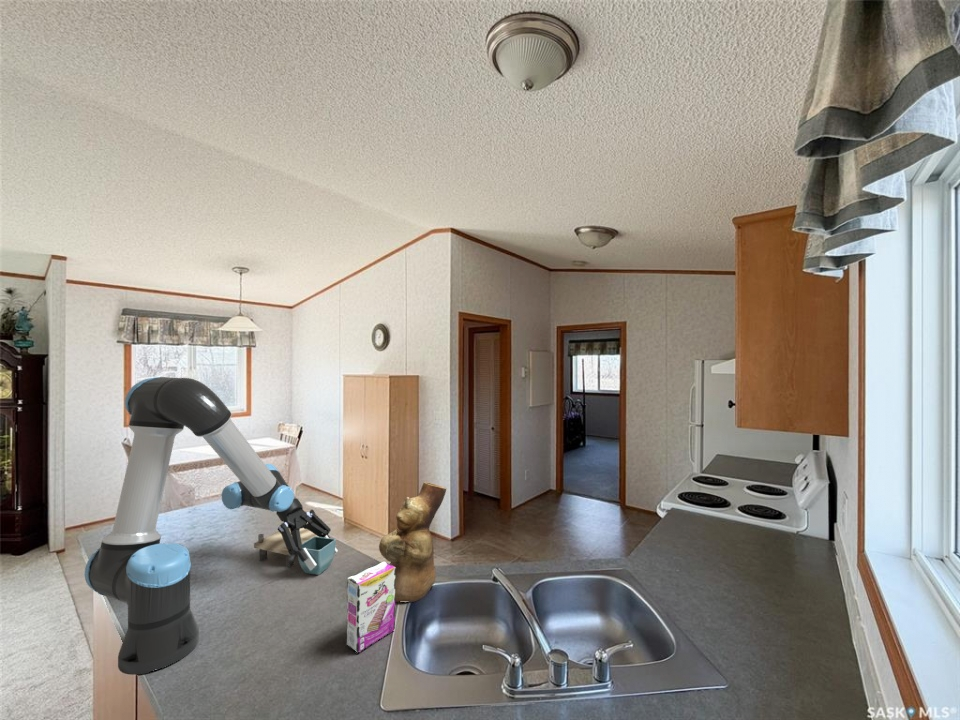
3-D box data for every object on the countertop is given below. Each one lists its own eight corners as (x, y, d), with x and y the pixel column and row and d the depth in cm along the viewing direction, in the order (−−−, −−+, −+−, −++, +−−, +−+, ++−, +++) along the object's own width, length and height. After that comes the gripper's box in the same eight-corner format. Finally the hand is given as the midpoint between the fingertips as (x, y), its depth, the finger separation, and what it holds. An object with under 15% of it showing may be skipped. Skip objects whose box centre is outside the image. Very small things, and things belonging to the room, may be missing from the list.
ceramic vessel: (371, 587, 125) (370, 487, 125) (432, 563, 139) (431, 474, 139) (396, 611, 113) (396, 501, 112) (460, 583, 127) (460, 484, 127)
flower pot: (295, 575, 132) (295, 547, 132) (314, 562, 140) (314, 535, 140) (319, 579, 129) (319, 550, 129) (336, 566, 137) (336, 539, 137)
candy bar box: (358, 655, 96) (357, 584, 96) (346, 646, 99) (345, 577, 99) (396, 630, 105) (396, 565, 105) (384, 623, 108) (383, 559, 108)
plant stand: (325, 548, 150) (324, 524, 150) (290, 569, 136) (290, 543, 136) (291, 541, 156) (290, 518, 156) (254, 560, 141) (253, 535, 141)
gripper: (304, 501, 150) (340, 552, 144) (252, 524, 130) (291, 584, 124) (316, 488, 148) (353, 539, 143) (264, 509, 128) (305, 570, 122)
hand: (324, 560), depth 133 cm, fingers closed on flower pot, 9 cm apart
